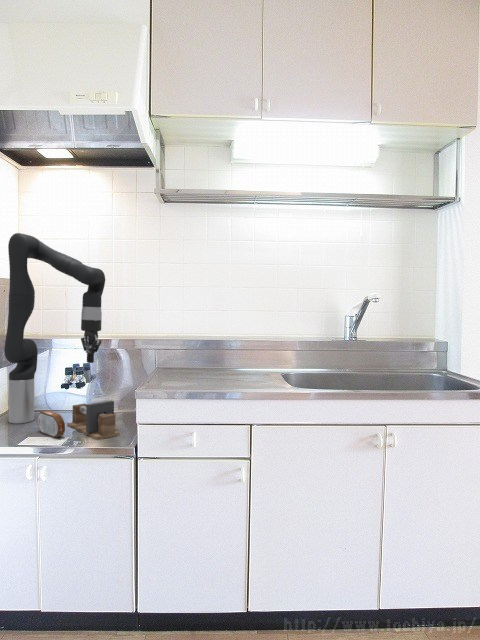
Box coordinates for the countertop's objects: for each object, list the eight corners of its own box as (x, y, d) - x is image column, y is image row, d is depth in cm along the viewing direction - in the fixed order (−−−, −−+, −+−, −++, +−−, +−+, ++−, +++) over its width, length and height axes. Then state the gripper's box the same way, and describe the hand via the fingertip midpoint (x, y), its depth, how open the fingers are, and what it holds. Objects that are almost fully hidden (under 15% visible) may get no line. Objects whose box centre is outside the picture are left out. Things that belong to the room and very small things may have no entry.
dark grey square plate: (86, 431, 153) (86, 404, 153) (111, 426, 160) (111, 400, 160) (88, 432, 152) (89, 405, 152) (113, 427, 159) (114, 401, 159)
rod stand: (67, 425, 165) (67, 406, 165) (89, 421, 172) (89, 402, 172) (96, 440, 149) (97, 418, 148) (119, 434, 155) (120, 413, 155)
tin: (65, 438, 150) (66, 414, 150) (57, 440, 148) (57, 416, 148) (43, 430, 159) (44, 408, 159) (35, 432, 157) (36, 409, 157)
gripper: (74, 317, 166) (73, 361, 167) (90, 319, 157) (88, 365, 158) (92, 317, 172) (91, 360, 172) (108, 319, 162) (107, 364, 163)
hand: (90, 362), depth 165 cm, fingers closed
